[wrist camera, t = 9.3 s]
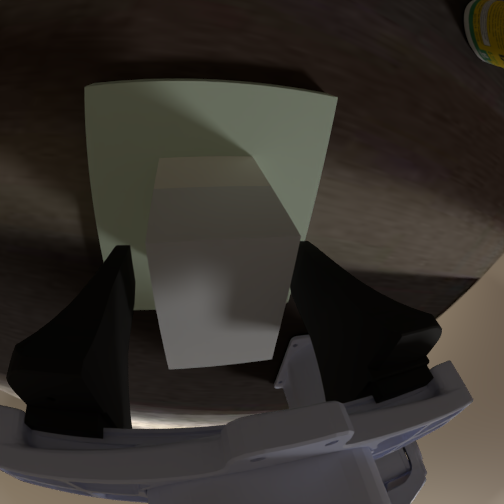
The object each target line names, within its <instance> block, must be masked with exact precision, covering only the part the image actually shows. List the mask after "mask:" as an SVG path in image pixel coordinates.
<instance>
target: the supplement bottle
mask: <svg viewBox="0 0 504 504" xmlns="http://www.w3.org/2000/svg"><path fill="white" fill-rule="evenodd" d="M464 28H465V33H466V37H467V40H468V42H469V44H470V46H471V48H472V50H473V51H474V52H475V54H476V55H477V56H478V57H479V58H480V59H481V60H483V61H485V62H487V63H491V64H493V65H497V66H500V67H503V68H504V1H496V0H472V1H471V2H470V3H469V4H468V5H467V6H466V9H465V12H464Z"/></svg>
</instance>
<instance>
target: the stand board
mask: <svg viewBox="0 0 504 504" xmlns="http://www.w3.org/2000/svg"><path fill="white" fill-rule="evenodd" d="M337 99H338V97H335V96H333V95H330V94H327V93H324V92H318V91H313V90H307V89H301V88H295V87H288V86H281V85H273V84H265V83H255V82H245V81H232V80H216V79H139V80H123V81H111V82H101V83H93V84H90V85H88V86H85V127H86V143H87V156H88V167H89V176H90V185H91V192H92V200H93V207H94V213H95V219H96V225H97V231H98V237H99V242H100V247H101V252H102V257H103V262H104V261H105V260H106V259H107V257H108V256H109V254H110V253H111V251H112V250H113V249H114V247H115V246H116V245H130V248H131V255H132V262H133V269H134V275H135V281H136V283H135V304H134V310H156V307H155V301H154V296H153V290H152V284H151V279H150V272H149V266H148V259H147V252H146V245H145V242H146V234H147V227H148V220H149V213H150V207H151V201H152V195H153V189H154V183H155V178H156V173H157V167H158V162H159V158H170V157H200V156H253V158H254V160H255V161H256V163H257V164H258V166H259V168H260V169H261V171H262V172H263V174H264V176H265V177H266V179H267V180H268V182H269V184H270V185H271V187H272V188H273V190H274V192H275V193H276V195H277V197H278V198H279V200H280V202H281V203H282V205H283V207H284V208H285V210H286V212H287V213H288V215H289V217H290V218H291V220H292V222H293V223H294V225H295V227H296V228H297V230H298V232H299V233H300V235H301V239H300V241H305V238H306V234H307V231H308V227H309V223H310V219H311V215H312V211H313V207H314V203H315V198H316V194H317V190H318V186H319V182H320V178H321V173H322V169H323V165H324V160H325V156H326V151H327V147H328V142H329V138H330V133H331V128H332V123H333V119H334V114H335V109H336V104H337ZM290 294H291V290H290V288H289V292H288V297H287V301H286V302H288V301H289V297H290Z"/></svg>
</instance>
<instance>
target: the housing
mask: <svg viewBox="0 0 504 504" xmlns="http://www.w3.org/2000/svg"><path fill="white" fill-rule="evenodd" d="M300 239H301V235H300V233H299V232H298V230H297V228H296V227H295V225H294V223H293V222H292V220H291V218H290V217H289V215H288V213H287V212H286V210H285V208H284V207H283V205H282V203H281V202H280V200H279V198H278V197H277V195H276V193H275V192H274V190H273V188H272V187H271V185H270V184H269V182H268V180H267V179H266V177H265V176H264V174H263V172H262V171H261V169H260V168H259V166H258V164H257V163H256V161H255V160H254V158H253V156H200V157H170V158H159V162H158V167H157V173H156V178H155V183H154V189H153V195H152V201H151V207H150V213H149V220H148V227H147V234H146V242H145V245H146V252H147V259H148V266H149V272H150V279H151V284H152V290H153V296H154V301H155V307H156V312H157V317H158V322H159V327H160V332H161V337H162V341H163V346H164V350H165V354H166V359H167V363H168V367H169V369H183V368H197V367H209V366H220V365H230V364H239V363H247V362H255V361H263V360H270V359H272V357H273V353H274V349H275V345H276V341H277V338H278V334H279V330H280V326H281V321H282V317H283V313H284V309H285V305H286V301H287V297H288V292H289V288H290V284H291V279H292V275H293V271H294V266H295V262H296V257H297V253H298V248H299V244H300Z"/></svg>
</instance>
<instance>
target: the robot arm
mask: <svg viewBox="0 0 504 504" xmlns="http://www.w3.org/2000/svg"><path fill="white" fill-rule="evenodd" d="M135 283H136V281H135V275H134V269H133V262H132V255H131V248H130V245H116V246H115V247H114V249H113V250H112V251H111V253H110V254H109V256H108V257H107V259H106V260H105V261H104V263H103V264H102V266H101V267H100V268H99V270H98V271H97V272H96V274H95V275H94V276H93V278H92V279H91V280H90V281H89V283H88V284H87V285H86V286H85V287H84V289H83V290H82V291H81V292H80V293H79V294H78V296H77V297H76V298H75V299H74V300H73V301H72V302H71V303H70V304H69V305H68V306H67V307H66V308H65V309H64V310H62V311H61V312H60V313H59V314H58V315H57V316H56V317H55V318H54V319H52V320H51V321H50V322H49V323H47V324H46V325H45V326H44V327H42V328H41V329H39V330H38V331H37V332H35V333H34V334H32V335H31V336H29V337H28V338H26V339H25V340H23V341H21V342H20V343H18V344H17V345H15V348H14V351H13V353H12V357H11V360H10V364H9V368H8V372H7V377H6V378H7V382H8V384H9V385H10V387H11V388H12V389H13V390H14V392H15V393H16V394H17V395H18V396H19V397H20V398H21V399H22V400H23V401H24V402H25V403H26V404H27V408H26V413H25V412H24V411H22V410H19V409H16V408H11V407H7V406H2V405H0V470H1V471H3V472H5V473H7V474H9V475H11V476H13V477H15V478H17V479H19V480H21V481H23V482H27V483H30V484H34V485H39V486H42V487H46V488H51V489H55V490H60V491H64V492H69V493H74V494H79V495H85V496H91V497H97V498H104V499H112V500H121V501H131V502H145V503H149V504H411V503H412V501H413V500H414V498H415V497H416V496H417V494H418V493H419V491H420V490H421V488H422V487H423V485H424V483H425V482H426V477H425V476H426V474H427V471H426V469H425V466H424V464H423V461H422V455H421V452H420V450H419V447H418V445H417V442H416V440H418V439H420V438H422V437H423V436H425V435H427V434H429V433H431V432H432V431H435V430H436V429H438V428H440V427H442V426H443V425H445V424H446V423H447V422H449V421H450V420H451V419H452V418H454V417H455V416H456V415H458V414H459V413H460V412H461V411H462V410H464V409H465V408H466V407H467V406H468V405H470V404H471V403H472V402H473V398H472V397H471V395H470V393H469V391H468V389H467V388H466V386H465V384H464V383H463V381H462V379H461V377H460V376H459V374H458V372H457V371H456V369H455V367H454V366H453V364H452V363H451V361H446V362H444V363H441V364H439V365H436V366H435V367H433V368H431V369H430V370H429V368H428V367H427V364H428V363H429V359H428V358H427V356H426V355H427V354H428V353H429V352H430V350H431V349H432V348H433V347H434V345H435V344H436V343H437V341H438V340H439V338H440V336H441V333H442V328H441V327H440V325H439V324H438V322H437V321H436V319H435V318H434V316H433V315H432V314H429V313H426V312H423V311H420V310H417V309H414V308H411V307H409V306H406V305H404V304H401V303H399V302H397V301H395V300H393V299H391V298H389V297H387V296H385V295H383V294H381V293H379V292H377V291H375V290H374V289H372V288H371V287H369V286H367V285H366V284H364V283H362V282H361V281H359V280H358V279H357V278H355V277H354V276H352V275H351V274H350V273H348V272H347V271H346V270H344V269H343V268H342V267H340V266H339V265H338V264H336V263H335V262H334V261H333V260H331V259H330V258H329V257H328V256H327V255H325V254H324V253H323V252H322V251H320V250H319V249H318V248H317V247H315V246H314V245H313V244H311V243H310V242H309V241H300V244H299V248H298V253H297V257H296V262H295V266H294V271H293V275H292V279H291V284H290V290H291V293H292V296H293V299H294V301H295V303H296V306H297V308H298V310H299V313H300V315H301V317H302V320H303V322H304V324H305V326H306V329H307V331H308V334H309V335H301V336H295V337H293V338H291V340H290V342H289V345H288V348H287V351H286V354H285V356H284V359H283V362H282V364H281V367H280V370H279V372H278V375H277V378H276V380H275V383H274V387H275V388H283V389H284V392H285V395H286V399H287V402H288V405H289V408H290V409H286V410H280V411H274V412H268V413H261V414H255V415H250V416H246V417H241V418H238V419H236V420H234V421H231V422H229V423H228V424H227V425H219V426H208V427H194V428H174V429H132V424H131V415H130V403H129V386H128V347H129V338H130V331H131V324H132V317H133V310H134V304H135ZM405 452H406V455H407V457H408V459H407V457H406V455H405Z"/></svg>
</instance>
